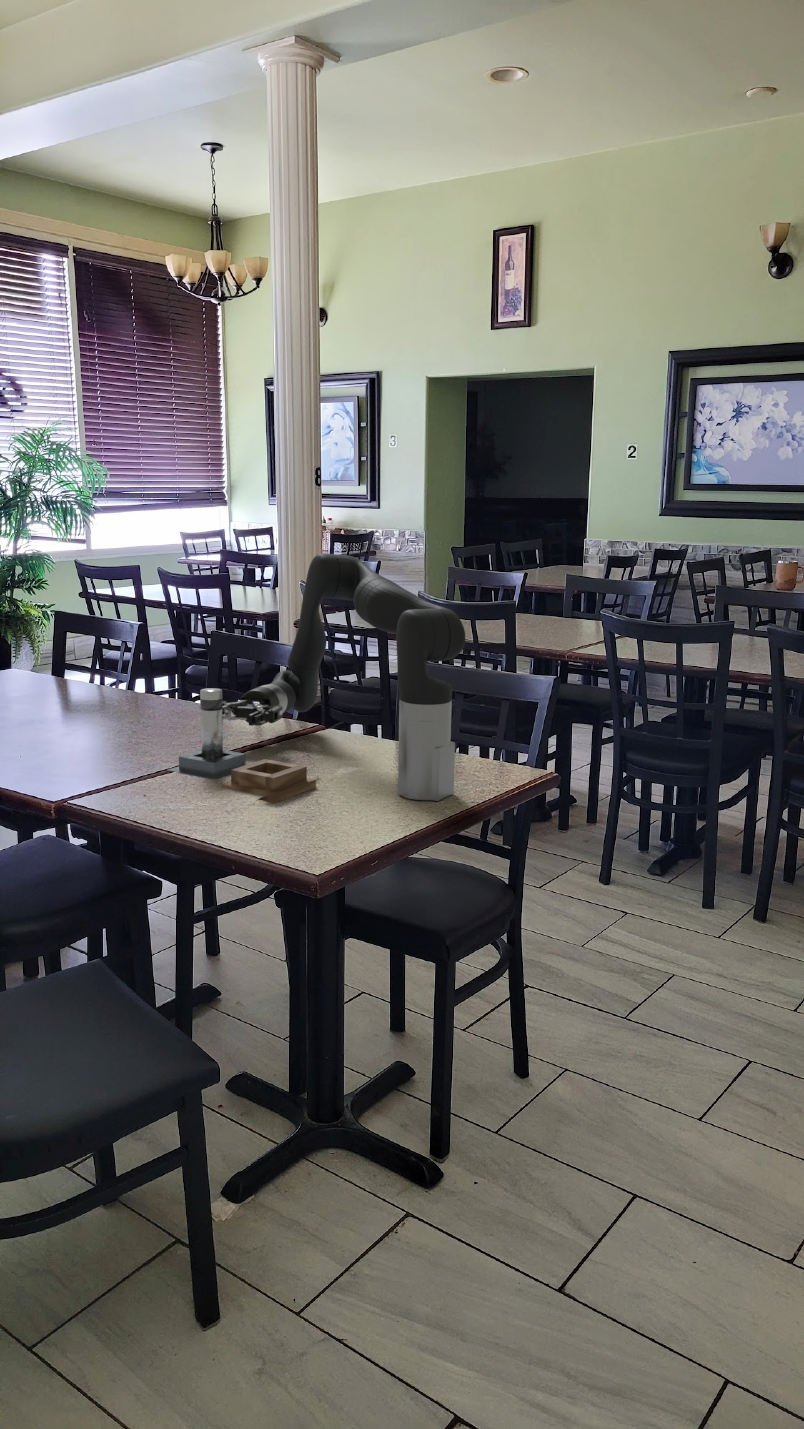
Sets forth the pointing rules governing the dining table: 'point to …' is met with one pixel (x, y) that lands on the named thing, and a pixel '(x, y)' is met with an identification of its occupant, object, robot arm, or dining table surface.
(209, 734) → the clear test tube
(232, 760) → the socket
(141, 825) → the dining table surface
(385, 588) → the robot arm
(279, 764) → the brown wooden square holder
